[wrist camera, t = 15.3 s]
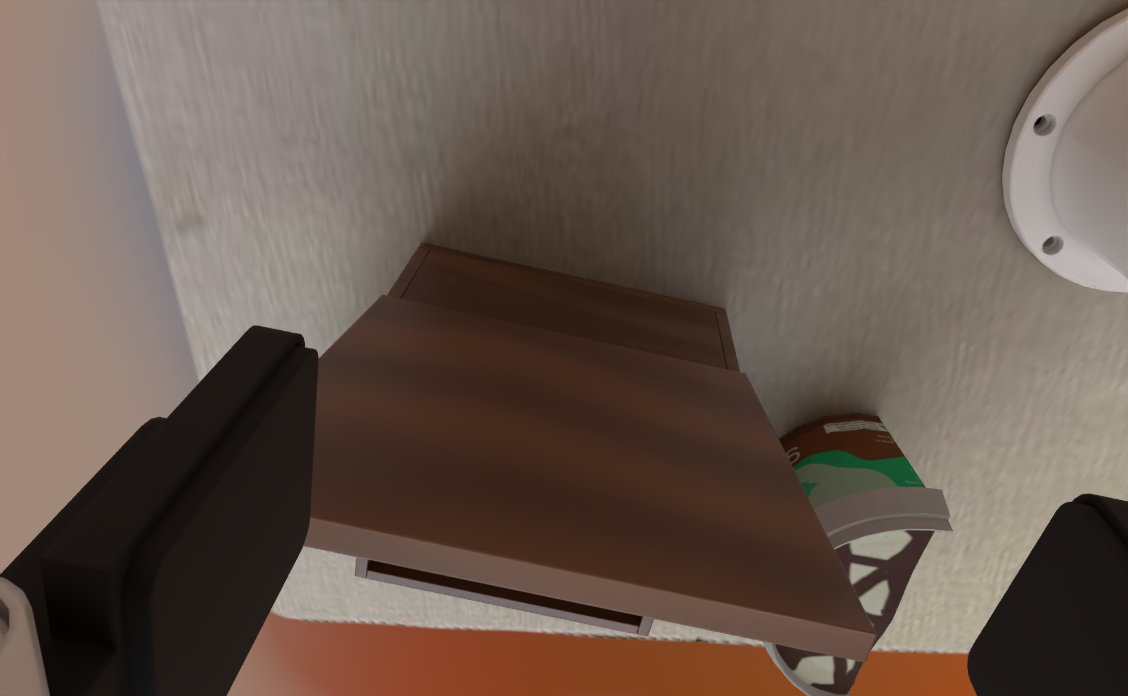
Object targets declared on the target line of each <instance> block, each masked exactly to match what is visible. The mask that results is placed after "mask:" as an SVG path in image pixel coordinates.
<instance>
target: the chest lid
mask: <svg viewBox="0 0 1128 696" xmlns="http://www.w3.org/2000/svg"><path fill="white" fill-rule="evenodd" d="M303 546H306V547H311V548H315V549H320V550H325V551H330V552H335V553H339V554H344V555H349V556H354V557H359V558H364V559H368V560H373V561H378V562H383V563H388V564H392V565H397V566H402V567H407V568H412V569H417V570H421V571H426V572H431V573H436V574H441V575H445V576H450V577H455V578H460V579H465V580H470V581H474V582H479V583H484V584H489V585H494V586H498V587H503V588H508V589H513V590H518V591H523V592H527V593H532V594H537V595H542V596H547V597H551V598H556V599H561V600H566V601H571V602H576V603H580V604H585V605H590V606H595V607H600V608H604V609H609V610H614V611H619V612H624V613H629V614H633V615H638V616H643V617H648V618H653V619H657V620H662V621H667V622H672V623H677V624H682V625H686V626H691V627H696V628H701V629H706V630H710V631H715V632H720V633H725V634H730V635H735V636H739V637H744V638H749V639H754V640H759V641H763V642H768V643H773V644H778V645H783V646H788V647H792V648H797V649H802V650H807V651H812V652H816V653H821V654H826V655H831V656H836V657H841V658H845V659H850V660H855V661H860V662H866V660H867V657H868V655H869V653H870V650H871V648H872V645H873V643H874V640H875V638H876V631H875V629H874V627H873V625H872V623H871V622H870V620H869V618H868V616H867V614H866V612H865V610H864V608H863V606H862V604H861V602H860V600H859V598H858V596H857V594H856V592H855V590H854V588H853V586H852V584H851V582H850V580H849V578H848V576H847V574H846V572H845V570H844V568H843V566H842V564H841V562H840V560H839V558H838V556H837V554H836V552H835V550H834V548H833V546H832V544H831V542H830V540H829V538H828V536H827V534H826V532H825V530H824V528H823V526H822V524H821V522H820V520H819V518H818V516H817V514H816V512H815V510H814V508H813V506H812V504H811V503H810V501H809V499H808V497H807V495H806V493H805V491H804V489H803V487H802V485H801V483H800V481H799V479H798V477H797V475H796V473H795V471H794V469H793V467H792V465H791V463H790V461H789V459H788V457H787V455H786V453H785V451H784V449H783V447H782V445H781V443H780V441H779V439H778V437H777V435H776V433H775V431H774V429H773V427H772V425H771V423H770V421H769V419H768V417H767V415H766V413H765V411H764V409H763V407H762V405H761V403H760V401H759V399H758V397H757V395H756V393H755V391H754V389H753V387H752V385H751V383H750V382H749V380H748V378H747V376H746V374H745V373H741V372H737V371H732V370H727V369H723V368H718V367H714V366H709V365H704V364H700V363H695V362H691V361H686V360H681V359H677V358H672V357H668V356H663V355H658V354H654V353H649V352H644V351H640V350H635V349H631V348H626V347H621V346H617V345H612V344H608V343H603V342H598V341H594V340H589V339H585V338H580V337H575V336H571V335H566V334H562V333H557V332H552V331H548V330H543V329H539V328H534V327H529V326H525V325H520V324H516V323H511V322H506V321H502V320H497V319H493V318H488V317H483V316H479V315H474V314H470V313H465V312H460V311H456V310H451V309H447V308H442V307H437V306H433V305H428V304H424V303H419V302H414V301H410V300H405V299H401V298H396V297H391V296H387V295H382V296H381V297H380V298H379V299H378V300H377V301H376V302H375V303H374V304H373V305H372V306H371V307H370V308H369V309H368V310H367V311H366V312H365V313H364V314H363V315H362V316H361V317H360V318H359V319H358V320H357V321H356V322H355V323H354V324H353V325H352V326H351V327H350V328H349V329H348V330H347V331H346V332H345V333H344V334H343V335H342V336H341V337H340V338H339V339H338V340H337V341H336V342H335V343H334V344H333V345H332V346H331V347H330V348H329V349H328V350H327V351H326V352H325V353H324V354H323V355H322V356H321V357H320V358H319V359H318V380H317V399H316V418H315V436H314V455H313V474H312V492H311V511H310V524H309V529H308V533H307V537H306V540H305V543H304V545H303Z"/></svg>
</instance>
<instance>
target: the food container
mask: <svg viewBox="0 0 1128 696" xmlns="http://www.w3.org/2000/svg"><path fill="white" fill-rule="evenodd" d="M779 441H780V443H781V445H782V447H783V449H784V451H785V453H786V455H787V457H788V459H789V461H790V463H791V465H792V467H793V469H794V471H795V473H796V475H797V477H798V479H799V481H800V483H801V485H802V487H803V489H804V491H805V493H806V495H807V497H808V499H809V501H810V503H811V504H812V506H813V508H814V510H815V512H816V514H817V516H818V518H819V520H820V522H821V524H822V526H823V528H824V530H825V532H826V534H827V536H828V538H829V540H830V542H831V544H832V546H833V548H834V550H835V552H836V554H837V556H838V558H839V560H840V562H841V564H842V566H843V568H844V570H845V572H846V574H847V576H848V578H849V580H850V582H851V584H852V586H853V588H854V590H855V592H856V594H857V596H858V598H859V600H860V602H861V604H862V606H863V608H864V610H865V612H866V614H867V616H868V618H869V620H870V622H871V623H872V625H873V627H874V629H875V631H876V638H875V640H874V643H873V645H872V648H873V647H874V645H875V644H876V642H877V641H878V640H879V638H880V637H881V636H882V634H883V633H884V632H885V630H886V629H887V627H888V626H889V624H890V623H891V621H892V619H893V617H894V615H895V613H896V610H897V608H898V606H899V604H900V601H901V599H902V596H903V593H904V591H905V588H906V586H907V584H908V582H909V579H910V577H911V575H912V573H913V570H914V568H915V567H916V565H917V563H918V561H919V559H920V557H921V555H922V553H923V552H924V550H925V548H926V546H927V544H928V542H929V540H930V539H931V537H932V535H933V533H934V531H940V532H948V533H953V530H952V528H951V526H950V524H949V522H948V519H949V518H950V514H949V511H948V508H947V505H946V501H945V498H944V495H943V492H942V490H938V489H931V488H926V487H925V486H924V484H923V483H922V481H921V480H920V478H919V477H918V475H917V474H916V472H915V471H914V469H913V468H912V466H911V465H910V463H909V462H908V460H907V459H906V457H905V456H904V454H903V453H902V451H901V450H900V448H899V447H898V445H897V444H896V442H895V441H894V439H893V438H892V436H891V435H890V433H889V432H888V430H887V429H886V427H885V426H884V424H883V423H882V421H881V420H880V418H879V417H878V416H870V415H863V414H848V415H838V416H828V417H823V418H821V419H818V420H815V421H812V422H810V423H807V424H804V425H801V426H799V427H797V428H795V429H794V430H792V431H791V432H790V433H788V434H787V435H785V436H784V437H783V438H781V439H780V440H779ZM763 643H764V645H765V648H766V650H767V652H768V653H769V655H770V656H771V658H772V660H773V661H774V663H775V664H776V665H777V666H778V667H779V668H780V670H782V673H783V674H784V675H785V676H786V677H787V678H788V679H789V680H790V682H791V683H792V684H793V685H795V686H796V687H797V688H798V689H800V690H801V691H802V692H804V693H805V694H806V695H808V696H850V693H849V690H850V688H851V687H852V686H853V684H854V682H855V678H856V676H857V674H858V671H859V670H860V668H861V666H862V664H863V663H864V662H860V661H855V660H850V659H845V658H841V657H836V656H831V655H826V654H821V653H816V652H812V651H807V650H802V649H797V648H792V647H788V646H783V645H778V644H773V643H768V642H763ZM872 648H871V649H872ZM870 651H871V650H870Z"/></svg>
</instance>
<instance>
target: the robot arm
mask: <svg viewBox="0 0 1128 696" xmlns="http://www.w3.org/2000/svg"><path fill="white" fill-rule="evenodd" d="M1039 117H1041V122H1040V123H1039V124H1038V125H1036V126H1034V123H1035V122H1036V120H1037V119H1038V118H1039ZM1002 183H1003V194H1004V204H1005V207H1006V210H1007V213H1008V216H1009V219H1010V222H1011V225H1012V227H1013V229H1014V231H1015V232H1016V234H1017V235H1018V237H1019V238H1020V240H1021V242H1022V243H1023V245H1024V246H1025V247H1026V248H1027V249H1028V250H1029V251H1030V252H1031V253H1032V254H1033V255H1034V256H1035V257H1036V258H1037V259H1038V260H1039V261H1040V262H1042V263H1043V264H1044V265H1046V266H1047V267H1048V268H1050V269H1051V270H1052V271H1054V272H1055V273H1056V274H1058V275H1059V276H1061V277H1063V278H1066V279H1068V280H1070V281H1072V282H1075V283H1077V284H1079V285H1081V286H1086V287H1090V288H1095V289H1099V290H1103V291H1113V292H1128V8H1127V9H1125V10H1124V11H1122V12H1120V13H1118V14H1116V15H1114V16H1112V17H1110V18H1109V19H1107V20H1105V21H1103V22H1102V23H1100V24H1099V25H1098V26H1096V27H1095V28H1093V29H1092V30H1091V31H1089V32H1088V33H1087V34H1085V35H1084V36H1083V37H1081V38H1080V39H1079V40H1077V41H1076V42H1075V43H1073V44H1072V45H1071V46H1070V47H1069V48H1068V49H1067V50H1066V51H1065V52H1064V53H1063V54H1062V55H1061V56H1060V57H1059V58H1058V59H1057V60H1056V61H1055V62H1054V63H1053V64H1052V65H1051V66H1050V67H1049V68H1048V70H1047V71H1046V73H1045V74H1044V75H1043V77H1042V78H1041V79H1040V81H1039V82H1038V83H1037V85H1036V86H1035V87H1034V89H1033V90H1032V91H1031V93H1030V94H1029V96H1028V98H1027V100H1026V101H1025V103H1024V105H1023V107H1022V109H1021V111H1020V113H1019V115H1018V117H1017V119H1016V121H1015V123H1014V125H1013V129H1012V132H1011V135H1010V138H1009V141H1008V144H1007V147H1006V151H1005V158H1004V166H1003V175H1002ZM1048 238H1049V239H1048ZM1046 239H1048V240H1047V242H1045V241H1046ZM317 380H318V352H317V351H316V349H311V348H306V347H305V342H304V337H303V336H302V335H301V334H297V333H292V332H287V331H282V330H277V329H272V328H267V327H262V326H252V327H251V328H249V329H248V330H247V331H246V332H245V334H244V335H243V336H242V337H241V338H240V339H239V340H238V341H237V342H236V343H235V344H234V346H233V347H232V348H231V349H230V350H229V351H228V352H227V353H226V354H225V355H224V356H223V358H222V359H221V360H220V361H219V362H218V363H217V364H216V365H215V366H214V367H213V368H212V370H211V371H210V372H209V373H208V374H207V375H206V376H205V377H204V378H203V379H202V380H201V382H200V383H199V384H198V385H197V386H196V387H195V388H194V389H193V390H192V391H191V393H190V394H189V395H188V396H187V397H186V398H185V399H184V400H183V401H182V402H181V403H180V404H179V406H178V407H177V408H176V409H175V410H174V411H173V412H172V413H171V414H170V415H169V417H168V418H162V417H157V418H153V419H150V420H149V421H148V422H146V423H145V424H144V425H143V426H141V427H140V428H139V430H137V431H136V432H135V434H134V435H133V436H132V437H131V438H130V439H129V440H128V441H127V442H126V443H125V444H124V445H123V446H122V447H121V449H119V450H118V452H116V454H115V455H114V456H113V457H112V458H111V459H110V460H109V461H108V462H107V463H106V464H105V465H104V466H103V467H102V468H101V469H100V470H99V471H98V472H97V473H96V474H95V476H94V477H93V478H92V479H91V480H90V481H89V482H88V483H87V484H86V485H85V486H84V487H83V488H82V489H81V490H80V491H79V492H78V493H77V494H76V496H75V497H74V498H73V499H72V500H71V501H70V502H69V503H68V504H67V505H66V506H65V507H64V508H63V509H62V510H61V511H60V512H59V513H58V515H57V516H56V517H55V518H54V519H53V520H52V521H51V522H50V523H49V524H48V525H47V526H46V527H45V528H44V529H43V530H42V531H41V532H40V533H39V535H37V536H36V537H35V539H34V540H33V541H32V542H31V543H30V544H29V545H28V546H27V547H26V548H25V549H24V550H23V551H22V552H21V553H20V554H19V555H18V556H17V557H16V558H15V559H14V561H13V562H12V563H11V564H10V565H9V566H8V567H7V568H6V569H5V570H4V571H3V572H2V573H1V574H0V696H227V694H228V692H229V690H230V688H231V686H232V684H233V682H234V680H235V678H236V676H237V674H238V672H239V670H240V669H241V666H242V665H243V663H244V661H245V659H246V657H247V655H248V653H249V651H250V649H251V647H252V645H253V643H254V641H255V639H256V637H257V636H258V634H259V632H260V630H261V628H262V626H263V624H264V622H265V620H266V618H267V616H268V614H269V612H270V610H271V608H272V606H273V604H274V603H275V601H276V599H277V597H278V595H279V593H280V591H281V589H282V587H283V585H284V583H285V581H286V579H287V577H288V575H289V573H290V571H291V570H292V568H293V566H294V564H295V562H296V560H297V558H298V556H299V554H300V552H301V550H302V548H303V545H304V543H305V540H306V537H307V533H308V529H309V524H310V511H311V492H312V474H313V455H314V436H315V418H316V399H317ZM967 667H968V674H969V677H970V681H971V683H972V685H973V688H974V690H975V692H976V694H977V696H1128V501H1123V500H1118V499H1113V498H1109V497H1104V496H1099V495H1094V494H1082V495H1080V496H1078V497H1077V498H1075V499H1074V500H1073V501H1072V502H1066V503H1064V504H1063V505H1061V506H1060V507H1059V508H1058V510H1057V511H1056V512H1055V514H1054V516H1053V517H1052V519H1051V520H1050V522H1049V524H1048V525H1047V527H1046V528H1045V530H1044V532H1043V533H1042V535H1041V537H1040V538H1039V540H1038V541H1037V543H1036V545H1035V546H1034V548H1033V549H1032V551H1031V553H1030V554H1029V556H1028V557H1027V559H1026V561H1025V562H1024V564H1023V565H1022V567H1021V569H1020V570H1019V572H1018V573H1017V575H1016V577H1015V578H1014V580H1013V582H1012V583H1011V585H1010V586H1009V588H1008V590H1007V591H1006V593H1005V594H1004V596H1003V598H1002V599H1001V601H1000V602H999V604H998V606H997V607H996V609H995V610H994V612H993V614H992V615H991V617H990V619H989V620H988V622H987V623H986V625H985V627H984V628H983V630H982V631H981V633H980V635H979V636H978V638H977V639H976V641H975V643H974V644H973V646H972V648H971V650H970V652H969V656H968V665H967Z"/></svg>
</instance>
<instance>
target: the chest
mask: <svg viewBox="0 0 1128 696" xmlns="http://www.w3.org/2000/svg"><path fill="white" fill-rule="evenodd" d="M387 296H391V297H396V298H401V299H405V300H410V301H414V302H419V303H424V304H428V305H433V306H437V307H442V308H447V309H451V310H456V311H460V312H465V313H470V314H474V315H479V316H483V317H488V318H493V319H497V320H502V321H506V322H511V323H516V324H520V325H525V326H529V327H534V328H539V329H543V330H548V331H552V332H557V333H562V334H566V335H571V336H575V337H580V338H585V339H589V340H594V341H598V342H603V343H608V344H612V345H617V346H621V347H626V348H631V349H635V350H640V351H644V352H649V353H654V354H658V355H663V356H668V357H672V358H677V359H681V360H686V361H691V362H695V363H700V364H704V365H709V366H714V367H718V368H723V369H727V370H732V371H737V372H740V370H739V365H738V361H737V357H736V352H735V348H734V344H733V340H732V335H731V331H730V327H729V322H728V318H727V314H726V310H725V309H720V308H716V307H711V306H707V305H702V304H697V303H693V302H688V301H684V300H679V299H675V298H670V297H666V296H661V295H656V294H652V293H647V292H643V291H638V290H634V289H629V288H625V287H620V286H615V285H611V284H606V283H602V282H597V281H593V280H588V279H584V278H579V277H574V276H570V275H565V274H561V273H556V272H552V271H547V270H543V269H538V268H533V267H529V266H524V265H520V264H515V263H511V262H506V261H502V260H497V259H492V258H488V257H483V256H479V255H474V254H470V253H465V252H461V251H456V250H451V249H447V248H442V247H438V246H433V245H429V244H424V243H421V244H420V246H419V247H418V249H417V250H416V252H415V253H414V255H413V256H412V258H411V259H410V261H409V262H408V264H407V266H406V267H405V269H404V270H403V272H402V273H401V275H400V276H399V278H398V279H397V281H396V282H395V284H394V286H393V287H392V289H391V290H390V292H389V293H388V295H387ZM355 576H357V577H362V578H366V577H367V579H372V580H376V581H381V582H386V583H391V584H396V585H401V586H406V587H410V588H415V589H420V590H425V591H430V592H435V593H439V594H444V595H449V596H454V597H459V598H464V599H468V600H473V601H478V602H483V603H488V604H493V605H497V606H502V607H507V608H512V609H517V610H522V611H526V612H531V613H536V614H541V615H546V616H551V617H555V618H560V619H565V620H570V621H575V622H580V623H584V624H589V625H594V626H599V627H604V628H609V629H613V630H618V631H623V632H628V633H633V634H636V633H637V634H638V635H643V636H648V634H649V631H650V628H651V626H652V623H653V620H654V619H653V618H648V617H643V616H638V615H633V614H629V613H624V612H619V611H614V610H609V609H604V608H600V607H595V606H590V605H585V604H580V603H576V602H571V601H566V600H561V599H556V598H551V597H547V596H542V595H537V594H532V593H527V592H523V591H518V590H513V589H508V588H503V587H498V586H494V585H489V584H484V583H479V582H474V581H470V580H465V579H460V578H455V577H450V576H445V575H441V574H436V573H431V572H426V571H421V570H417V569H412V568H407V567H402V566H397V565H392V564H388V563H383V562H378V561H373V560H368V559H364V558H359V557H357V559H356V569H355Z"/></svg>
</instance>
